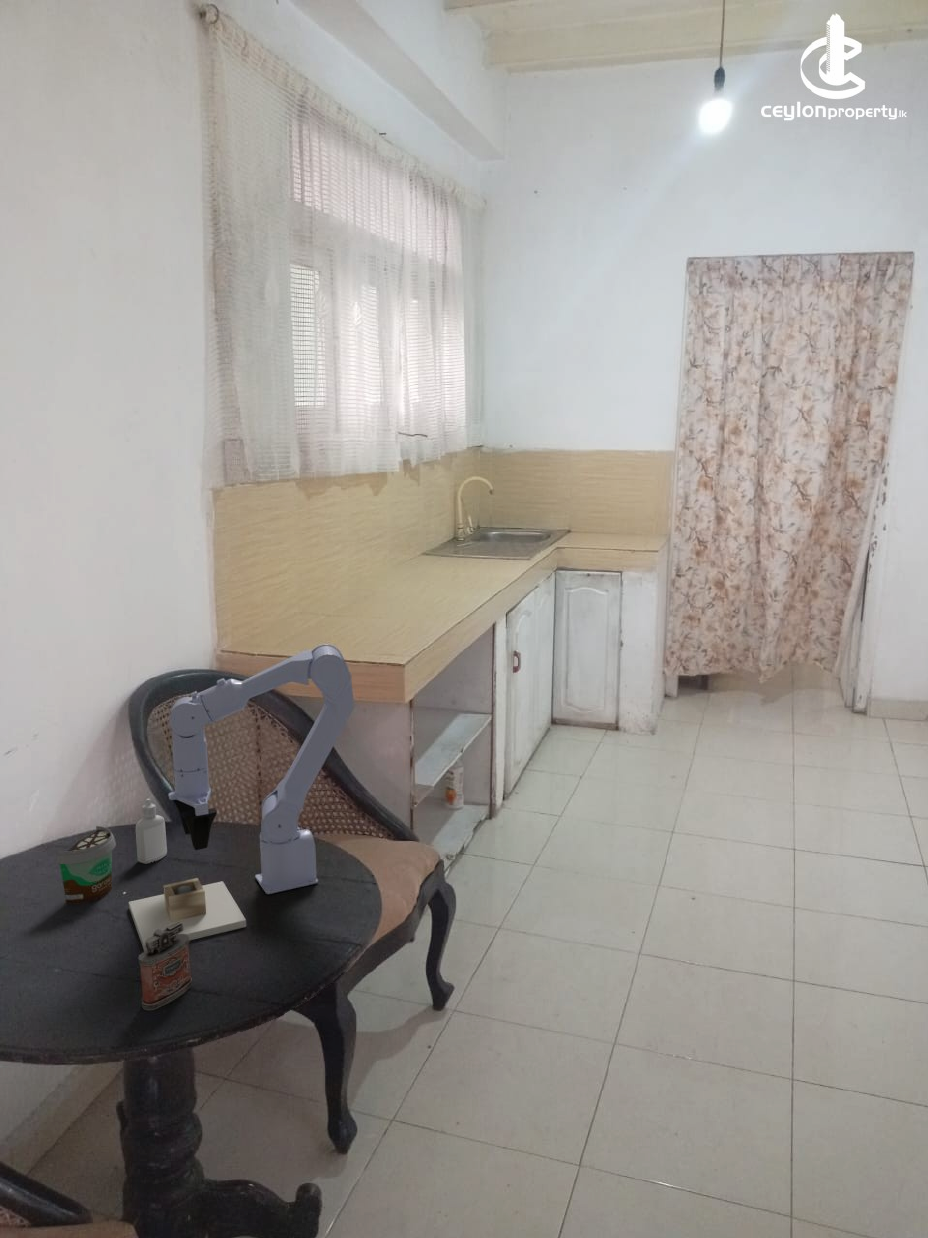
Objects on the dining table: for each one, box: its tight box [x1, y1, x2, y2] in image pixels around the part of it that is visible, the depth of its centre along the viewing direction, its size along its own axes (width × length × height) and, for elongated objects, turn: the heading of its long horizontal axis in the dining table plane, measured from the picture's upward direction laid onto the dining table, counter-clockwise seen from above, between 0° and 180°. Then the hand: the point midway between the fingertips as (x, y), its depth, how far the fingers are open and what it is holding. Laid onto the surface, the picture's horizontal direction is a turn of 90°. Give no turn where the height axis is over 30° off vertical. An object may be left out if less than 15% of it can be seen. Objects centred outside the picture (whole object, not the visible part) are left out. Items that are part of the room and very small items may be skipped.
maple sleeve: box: [163, 877, 206, 922], centre depth 154 cm, size 6×6×4 cm
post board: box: [128, 881, 247, 952], centre depth 154 cm, size 16×16×5 cm
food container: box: [56, 825, 117, 905], centre depth 163 cm, size 12×6×10 cm, turn 168°
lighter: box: [137, 922, 193, 1011], centre depth 132 cm, size 8×3×10 cm, turn 148°
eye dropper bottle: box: [135, 798, 168, 865], centre depth 177 cm, size 4×6×12 cm
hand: (195, 840), depth 163 cm, fingers open, 7 cm apart
